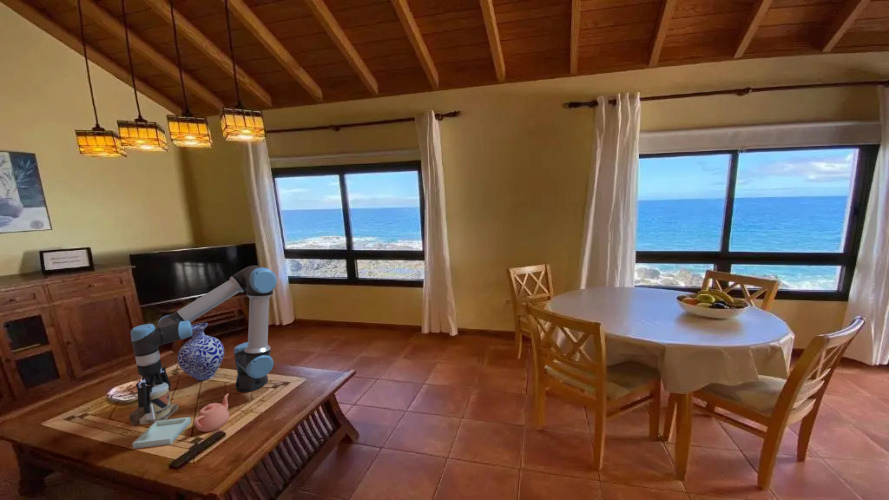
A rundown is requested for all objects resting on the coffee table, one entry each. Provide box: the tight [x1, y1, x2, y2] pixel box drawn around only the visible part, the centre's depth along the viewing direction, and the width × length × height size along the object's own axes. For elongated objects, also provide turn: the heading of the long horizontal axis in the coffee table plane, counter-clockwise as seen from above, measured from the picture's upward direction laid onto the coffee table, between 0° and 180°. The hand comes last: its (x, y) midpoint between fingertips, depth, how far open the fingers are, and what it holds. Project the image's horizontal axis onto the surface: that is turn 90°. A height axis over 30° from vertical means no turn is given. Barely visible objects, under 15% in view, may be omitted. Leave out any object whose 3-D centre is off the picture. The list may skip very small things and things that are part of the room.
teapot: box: [192, 393, 230, 433], centre depth 153 cm, size 12×18×10 cm
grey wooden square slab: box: [139, 403, 179, 425], centre depth 160 cm, size 10×10×3 cm
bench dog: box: [129, 407, 145, 426], centre depth 159 cm, size 3×10×5 cm, turn 7°
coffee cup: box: [148, 382, 171, 420], centre depth 144 cm, size 9×9×12 cm
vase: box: [177, 322, 225, 382], centre depth 192 cm, size 22×22×30 cm
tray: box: [131, 416, 192, 450], centre depth 147 cm, size 14×14×2 cm
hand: (158, 412), depth 145 cm, fingers closed on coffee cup, 8 cm apart
